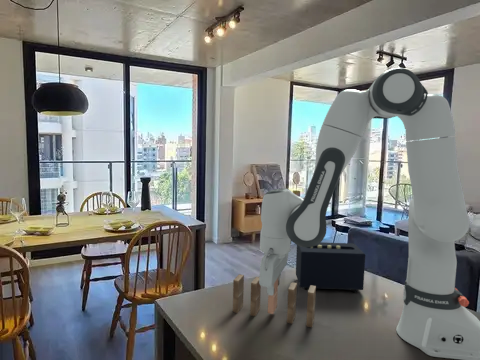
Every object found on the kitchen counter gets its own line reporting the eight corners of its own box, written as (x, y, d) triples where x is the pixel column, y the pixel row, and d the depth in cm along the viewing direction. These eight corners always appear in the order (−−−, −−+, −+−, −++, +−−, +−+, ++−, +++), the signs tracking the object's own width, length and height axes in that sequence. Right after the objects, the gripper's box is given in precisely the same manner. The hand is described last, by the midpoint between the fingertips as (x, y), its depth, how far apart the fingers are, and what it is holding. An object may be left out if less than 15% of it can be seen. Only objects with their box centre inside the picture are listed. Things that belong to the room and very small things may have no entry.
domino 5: (314, 319, 101) (316, 286, 100) (312, 327, 96) (313, 293, 95) (308, 317, 101) (310, 285, 100) (306, 326, 96) (307, 292, 95)
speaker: (352, 279, 131) (354, 241, 129) (363, 294, 118) (365, 252, 116) (295, 277, 132) (296, 239, 130) (299, 292, 119) (301, 249, 117)
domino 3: (277, 306, 104) (278, 274, 103) (273, 314, 99) (274, 280, 98) (271, 305, 105) (273, 273, 104) (267, 313, 100) (268, 279, 99)
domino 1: (243, 305, 108) (243, 274, 107) (237, 313, 103) (238, 280, 102) (238, 304, 108) (239, 274, 107) (232, 312, 104) (233, 280, 103)
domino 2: (260, 308, 106) (261, 277, 105) (255, 316, 101) (256, 283, 100) (255, 307, 107) (255, 276, 105) (250, 315, 102) (250, 282, 101)
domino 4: (295, 315, 102) (297, 283, 101) (292, 323, 98) (293, 289, 97) (290, 314, 103) (291, 282, 102) (286, 322, 98) (288, 288, 97)
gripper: (277, 256, 89) (275, 307, 91) (292, 236, 108) (290, 279, 110) (254, 253, 91) (252, 303, 93) (273, 234, 110) (271, 276, 112)
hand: (273, 289), depth 101 cm, fingers closed on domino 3, 5 cm apart
